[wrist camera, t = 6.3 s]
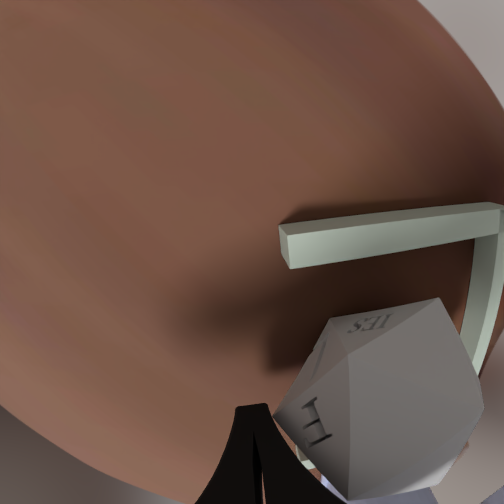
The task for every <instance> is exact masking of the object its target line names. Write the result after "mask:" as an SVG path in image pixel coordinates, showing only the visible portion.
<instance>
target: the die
mask: <svg viewBox="0 0 504 504" xmlns="http://www.w3.org/2000/svg"><path fill="white" fill-rule="evenodd" d="M483 411H484V402H483V397H482V391H481V385H480V380H479V378H478V376H477V373H476V371H475V369H474V366H473V364H472V362H471V359H470V357H469V355H468V353H467V351H466V349H465V346H464V344H463V342H462V340H461V338H460V336H459V334H458V332H457V330H456V328H455V326H454V324H453V322H452V320H451V318H450V316H449V315H448V313H447V311H446V309H445V307H444V305H443V303H442V302H441V300H440V298H439V297H438V298H434V299H429V300H425V301H420V302H416V303H411V304H406V305H401V306H396V307H391V308H386V309H381V310H375V311H370V312H364V313H358V314H352V315H346V316H340V317H333V318H329V320H328V322H327V324H326V326H325V328H324V330H323V332H322V333H321V335H320V337H319V339H318V341H317V343H316V344H315V346H314V348H313V352H312V353H311V354H310V355H309V357H308V358H307V360H306V362H305V364H304V365H303V367H302V369H301V371H300V372H299V374H298V376H297V377H296V379H295V381H294V382H293V384H292V386H291V387H290V389H289V390H288V392H287V394H286V395H285V397H284V398H283V400H282V402H281V403H280V405H279V406H278V408H277V409H276V411H275V413H274V414H273V416H272V417H273V418H274V419H275V420H276V422H277V423H278V424H279V425H280V426H281V428H282V429H283V430H284V431H285V432H286V434H287V435H288V436H289V437H290V438H291V440H292V441H293V442H294V443H295V444H296V445H297V447H298V448H299V449H300V450H301V451H302V452H303V454H304V455H305V456H306V457H307V458H308V459H309V460H310V462H311V463H312V464H313V465H314V466H315V467H316V468H317V469H318V470H319V471H320V473H321V474H322V475H323V476H324V477H325V478H326V479H327V480H328V481H329V482H330V483H331V484H332V486H333V487H334V488H335V489H336V490H337V491H338V492H339V493H340V494H341V495H342V496H343V497H344V498H345V499H346V500H347V501H353V500H362V499H370V498H377V497H383V496H389V495H395V494H400V493H405V492H410V491H414V490H418V489H423V488H427V487H431V486H434V485H438V484H439V483H440V481H441V480H442V478H443V477H444V476H445V474H446V473H447V471H448V470H449V469H450V467H451V466H452V464H453V463H454V461H455V460H456V458H457V457H458V455H459V453H460V452H461V450H462V449H463V447H464V445H465V444H466V442H467V440H468V439H469V437H470V435H471V434H472V432H473V430H474V428H475V426H476V424H477V423H478V421H479V419H480V417H481V415H482V413H483Z"/></svg>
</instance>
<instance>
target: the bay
mask: <svg viewBox="0 0 504 504" xmlns="http://www.w3.org/2000/svg"><path fill="white" fill-rule="evenodd" d="M278 226H279V235H280V245H281V254H282V256H283V258H284V259H285V261H286V263H287V265H288V266H289V268H290V269H295V268H302V267H309V266H315V265H321V264H328V263H334V262H340V261H347V260H353V259H359V258H365V257H371V256H377V255H383V254H389V253H394V252H400V251H406V250H412V249H417V248H423V247H428V246H434V245H439V244H445V243H450V242H456V241H461V240H466V239H472V238H475V245H474V256H473V265H472V272H471V280H470V286H469V292H468V298H467V304H466V309H465V314H464V319H463V323H462V328H461V332H460V338H461V340H462V342H463V344H464V346H465V349H466V351H467V353H468V355H469V357H470V359H471V362H472V364H473V366H474V369H475V371H476V373H477V376H478V374H479V371H480V368H481V365H482V363H483V360H484V357H485V354H486V351H487V348H488V344H489V341H490V338H491V334H492V331H493V327H494V323H495V320H496V316H497V312H498V307H499V303H500V298H501V294H502V289H503V283H504V205H500V204H496V203H492V202H481V203H470V204H458V205H448V206H437V207H427V208H417V209H408V210H398V211H389V212H380V213H371V214H362V215H354V216H345V217H337V218H329V219H320V220H312V221H304V222H297V223H289V224H281V225H278ZM296 453H297V457H298V459H299V460H300V462H301V463H302V464H303V465H304V466H305V467H306V468H307V469H312V468H316V467H315V466H314V465H313V464H312V463H311V462H310V460H309V459H308V458H307V457H306V456H305V455H304V454H303V452H302V451H301V450H300V449H299V448H298V447H297V445H296Z"/></svg>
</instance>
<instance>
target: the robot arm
mask: <svg viewBox="0 0 504 504" xmlns="http://www.w3.org/2000/svg"><path fill="white" fill-rule="evenodd" d="M262 473H263V482H264V490H265V499H266V504H438V502H437V500H436V498H435V497H434V495H433V493H432V491H431V489H430V487H427V488H423V489H418V490H414V491H410V492H405V493H400V494H395V495H389V496H383V497H377V498H370V499H362V500H353V501H347V500H346V499H345V498H344V497H343V496H342V495H341V494H340V493H339V492H338V491H337V490H336V489H335V488H334V487H333V486H332V484H331V483H330V482H329V481H328V480H327V479H326V478H325V477H324V476H323V475H322V474H321V482H319V481H318V480H317V479H316V478H315V477H314V476H313V475H312V474H311V473H310V472H309V471H308V469H307V468H306V467H305V466H304V465H303V464H302V463H301V462H300V460H299V459H298V458H297V457H296V455H295V454H294V453H293V451H292V450H291V449H290V447H289V446H288V444H287V443H286V441H285V440H284V438H283V437H282V435H281V433H280V432H279V430H278V428H277V426H276V425H275V423H274V421H273V418H272V416H271V414H270V411H269V408H268V404H266V403H261V404H253V405H246V406H238V407H237V408H236V409H235V416H234V421H233V425H232V429H231V433H230V436H229V439H228V442H227V445H226V447H225V450H224V452H223V455H222V457H221V459H220V462H219V464H218V466H217V468H216V470H215V472H214V474H213V476H212V478H211V480H210V481H209V483H208V485H207V486H206V488H205V490H204V491H203V493H202V494H201V496H200V497H199V499H198V500H197V501H196V503H195V504H263V493H262ZM481 504H504V486H503V487H501V488H500V489H499V490H497V491H496V492H495V493H493V494H492V495H491V496H489V497H488V498H486V499H485V500H484V501H483V502H481Z"/></svg>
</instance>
